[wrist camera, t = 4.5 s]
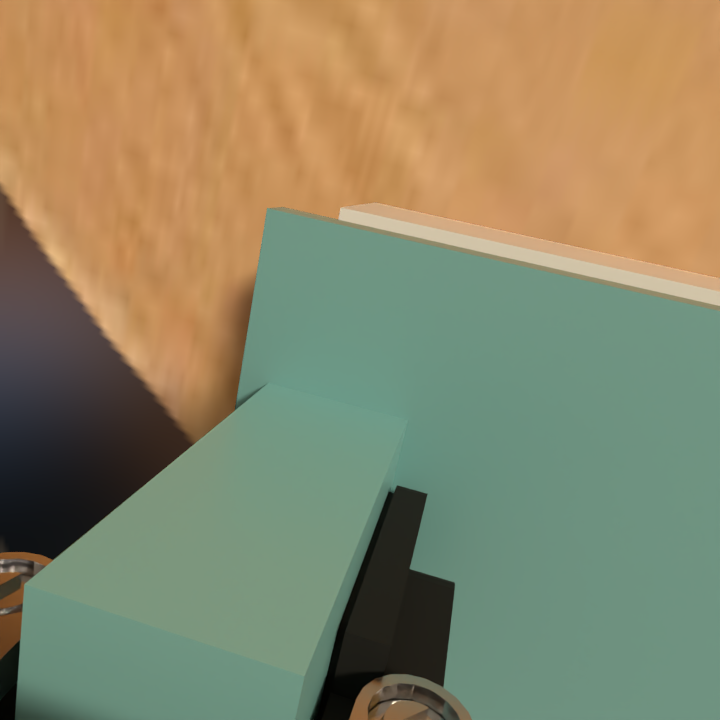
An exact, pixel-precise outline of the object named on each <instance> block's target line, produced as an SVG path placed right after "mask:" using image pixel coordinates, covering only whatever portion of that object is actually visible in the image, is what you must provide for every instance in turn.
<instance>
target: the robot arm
mask: <svg viewBox="0 0 720 720" xmlns="http://www.w3.org/2000/svg"><path fill="white" fill-rule="evenodd" d="M136 492H137V491H136ZM136 492H135V493H136ZM133 494H134V493H133ZM133 494H132V495H133ZM132 495H131V496H132ZM427 495H428V494H427V493H423V492H419V491H416V490H412V489H409V488H405V487H402V486H398V485H397V486H396V489H395V492H394V493H392V492H388V495H387V498H386V500H385V503H384V506H383V508H382V511H381V514H380V516H379V519H378V522H377V524H376V527H375V530H374V533H373V535H372V538H371V541H370V543H369V546H368V549H367V551H366V554H365V557H364V560H363V562H362V565H361V568H360V570H359V573H358V576H357V578H356V581H355V584H354V587H353V589H352V592H351V595H350V597H349V600H348V603H347V605H346V608H345V611H344V614H343V616H342V619H341V622H340V625H339V629H338V632H337V636H336V639H335V643H334V647H333V651H332V655H331V659H330V663H329V668H328V672H327V676H326V681H325V685H324V690H323V694H322V698H321V703H320V707H319V711H318V716H317V720H472V719H471V716H470V714H469V712H468V711H467V710H466V708H465V707H464V706H463V705H462V704H461V702H460V701H459V700H458V699H457V698H456V697H455V696H454V695H452V694H451V693H450V692H448V691H447V690H446V689H444V688H443V687H444V678H445V670H446V661H447V652H448V643H449V635H450V626H451V617H452V609H453V600H454V591H455V583H454V582H452V581H448V580H445V579H442V578H438V577H435V576H432V575H428V574H425V573H422V572H418V571H415V570H412V569H410V565H411V561H412V557H413V553H414V549H415V545H416V540H417V536H418V532H419V528H420V524H421V520H422V515H423V511H424V507H425V503H426V499H427ZM131 496H129V497H131ZM129 497H128V498H129ZM128 498H127V499H128ZM127 499H126V500H127ZM126 500H125V501H126ZM125 501H123V502H125ZM123 502H122V503H123ZM122 503H121V504H122ZM121 504H120V505H121ZM120 505H119V506H120ZM119 506H117V507H119ZM117 507H116V508H117ZM116 508H115V509H116ZM115 509H114V510H115ZM114 510H113V511H114ZM113 511H111V512H113ZM111 512H110V513H111ZM110 513H109V514H110ZM109 514H108V515H109ZM108 515H106V516H108ZM106 516H105V517H106ZM105 517H104V518H105ZM104 518H103V519H104ZM103 519H101V520H100V521H102V520H103ZM100 521H99V522H100ZM99 522H98V523H99ZM98 523H97V524H98ZM97 524H95V525H94V526H96V525H97ZM94 526H93V527H94ZM93 527H92V528H93ZM92 528H90V529H89V530H91V529H92ZM89 530H88V531H89ZM88 531H87V532H88ZM87 532H86V533H87ZM86 533H84V534H83V535H85V534H86ZM83 535H82V536H83ZM82 536H81V537H82ZM81 537H80V538H81ZM80 538H78V539H77V540H79V539H80ZM77 540H76V541H77ZM76 541H75V542H76ZM75 542H73V543H72V544H74V543H75ZM72 544H71V545H72ZM71 545H70V546H71ZM70 546H69V547H70ZM69 547H68V548H69ZM68 548H66V549H68ZM66 549H65V550H66ZM65 550H64V551H65ZM64 551H63V552H64ZM63 552H61V553H60V554H62V553H63ZM60 554H59V555H60ZM59 555H58V556H59ZM58 556H56V557H55V558H54V559H56V558H57V557H58ZM54 559H53V560H54ZM53 560H51V559H49V558H47V557H44V556H42V555H38V554H32V553H26V552H5V553H0V720H15V710H16V696H17V682H18V668H19V653H20V639H21V625H22V611H23V596H24V584H25V583H26V582H28V581H29V580H30V579H31V578H32V577H34V576H35V575H36V574H37V573H39V572H40V571H41V570H42V569H43V568H45V567H46V566H47V565H48V564H49V563H51V562H52V561H53Z"/></svg>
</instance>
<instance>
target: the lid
mask: <svg viewBox="0 0 720 720" xmlns="http://www.w3.org/2000/svg"><path fill="white" fill-rule="evenodd" d="M397 485H398V486H402V487H405V488H409V489H412V490H416V491H419V492H423V493H427V494H428V495H427V499H426V503H425V507H424V511H423V515H422V520H421V524H420V528H419V532H418V536H417V540H416V545H415V549H414V553H413V557H412V561H411V565H410V569H412V570H415V571H418V572H422V573H425V574H428V575H432V576H435V577H438V578H442V579H445V580H448V581H452V582H454V583H455V591H454V600H453V609H452V617H451V626H450V635H449V643H448V652H447V661H446V670H445V678H444V687H443V688H444V689H446V690H447V691H448V692H450V693H451V694H452V695H454V696H455V697H456V698H457V699H458V700H459V701H460V702H461V704H462V705H463V706H464V707H465V708H466V710H467V711H468V712H469V714H470V716H471V719H472V720H720V306H718V305H714V304H709V303H705V302H700V301H696V300H691V299H687V298H683V297H678V296H674V295H669V294H665V293H660V292H656V291H652V290H647V289H643V288H638V287H634V286H630V285H625V284H621V283H616V282H612V281H607V280H603V279H599V278H594V277H590V276H585V275H581V274H576V273H572V272H568V271H563V270H559V269H554V268H550V267H546V266H541V265H537V264H532V263H528V262H523V261H519V260H515V259H510V258H506V257H501V256H497V255H492V254H488V253H484V252H479V251H475V250H470V249H466V248H462V247H457V246H453V245H448V244H444V243H439V242H435V241H431V240H426V239H422V238H417V237H413V236H408V235H404V234H400V233H395V232H391V231H386V230H382V229H378V228H373V227H369V226H364V225H360V224H355V223H351V222H347V221H342V220H338V219H333V218H329V217H324V216H320V215H316V214H311V213H307V212H302V211H298V210H294V209H289V208H285V207H278V208H267V213H266V219H265V225H264V232H263V238H262V244H261V250H260V257H259V263H258V269H257V275H256V281H255V288H254V294H253V300H252V306H251V313H250V319H249V325H248V331H247V338H246V344H245V350H244V356H243V362H242V369H241V375H240V381H239V387H238V394H237V400H236V406H235V411H234V412H233V413H231V414H230V415H229V416H228V417H227V418H225V419H224V420H223V421H222V422H220V423H219V424H218V425H217V426H216V427H214V428H213V429H212V430H211V431H210V432H208V433H207V434H206V435H205V436H203V437H202V438H201V439H200V440H199V441H197V442H196V443H195V444H194V445H193V446H191V447H190V448H189V449H188V450H186V451H185V452H184V453H183V454H182V455H180V456H179V457H178V458H177V459H176V460H174V461H173V462H172V463H171V464H170V465H168V466H167V467H166V468H165V469H163V470H162V471H161V472H160V473H159V474H157V475H156V476H155V477H154V478H153V479H151V480H150V481H149V482H148V483H146V485H144V486H143V487H142V488H140V489H139V490H138V491H137V492H136V493H134V494H133V495H132V496H131V497H129V498H128V499H127V500H126V501H125V502H123V503H122V504H121V505H120V506H119V507H117V508H116V509H115V510H114V511H113V512H111V513H110V514H109V515H108V516H106V517H105V518H104V519H103V520H102V521H100V522H99V523H98V524H97V525H96V526H94V527H93V528H92V529H91V530H89V531H88V532H87V533H86V534H85V535H83V536H82V537H81V538H80V539H79V540H77V541H76V542H75V543H74V544H72V545H71V546H70V547H69V548H68V549H66V550H65V551H64V552H63V553H62V554H60V555H59V556H58V557H57V558H56V559H54V560H53V561H52V562H51V563H49V564H48V565H47V566H46V567H45V568H43V569H42V570H41V571H40V572H39V573H37V574H36V575H35V576H34V577H32V578H31V579H30V580H29V581H28V582H26V583H25V584H24V596H23V611H22V625H21V639H20V653H19V668H18V682H17V696H16V710H15V720H317V716H318V711H319V707H320V703H321V698H322V694H323V690H324V685H325V681H326V676H327V672H328V668H329V663H330V659H331V655H332V651H333V647H334V643H335V639H336V636H337V632H338V629H339V625H340V622H341V619H342V616H343V614H344V611H345V608H346V605H347V603H348V600H349V597H350V595H351V592H352V589H353V587H354V584H355V581H356V578H357V576H358V573H359V570H360V568H361V565H362V562H363V560H364V557H365V554H366V551H367V549H368V546H369V543H370V541H371V538H372V535H373V533H374V530H375V527H376V524H377V522H378V519H379V516H380V514H381V511H382V508H383V506H384V503H385V500H386V498H387V495H388V492H392V493H394V492H395V489H396V486H397Z"/></svg>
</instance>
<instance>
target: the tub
mask: <svg viewBox="0 0 720 720" xmlns="http://www.w3.org/2000/svg"><path fill="white" fill-rule="evenodd" d="M339 220H342V221H347V222H351V223H355V224H360V225H364V226H369V227H373V228H378V229H382V230H386V231H391V232H395V233H400V234H404V235H408V236H413V237H417V238H422V239H426V240H431V241H435V242H439V243H444V244H448V245H453V246H457V247H462V248H466V249H470V250H475V251H479V252H484V253H488V254H492V255H497V256H501V257H506V258H510V259H515V260H519V261H523V262H528V263H532V264H537V265H541V266H546V267H550V268H554V269H559V270H563V271H568V272H572V273H576V274H581V275H585V276H590V277H594V278H599V279H603V280H607V281H612V282H616V283H621V284H625V285H630V286H634V287H638V288H643V289H647V290H652V291H656V292H660V293H665V294H669V295H674V296H678V297H683V298H687V299H691V300H696V301H700V302H705V303H709V304H714V305H718V306H720V278H717V277H713V276H708V275H704V274H699V273H694V272H690V271H685V270H681V269H676V268H672V267H667V266H663V265H658V264H653V263H649V262H644V261H640V260H635V259H631V258H626V257H622V256H617V255H613V254H608V253H603V252H599V251H594V250H590V249H585V248H581V247H576V246H572V245H567V244H563V243H558V242H553V241H549V240H544V239H540V238H535V237H531V236H526V235H522V234H517V233H513V232H508V231H503V230H499V229H494V228H490V227H485V226H481V225H476V224H472V223H467V222H462V221H458V220H453V219H449V218H444V217H440V216H435V215H431V214H426V213H422V212H417V211H412V210H408V209H403V208H399V207H394V206H390V205H385V204H381V203H369V204H362V205H355V206H347V207H341V209H340V214H339Z"/></svg>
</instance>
